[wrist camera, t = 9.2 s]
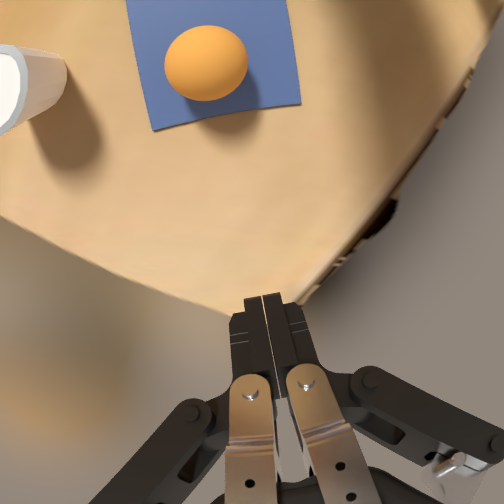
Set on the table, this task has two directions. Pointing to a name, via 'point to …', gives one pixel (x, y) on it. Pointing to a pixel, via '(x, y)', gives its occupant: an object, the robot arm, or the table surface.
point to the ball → (206, 63)
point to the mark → (233, 19)
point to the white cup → (28, 83)
